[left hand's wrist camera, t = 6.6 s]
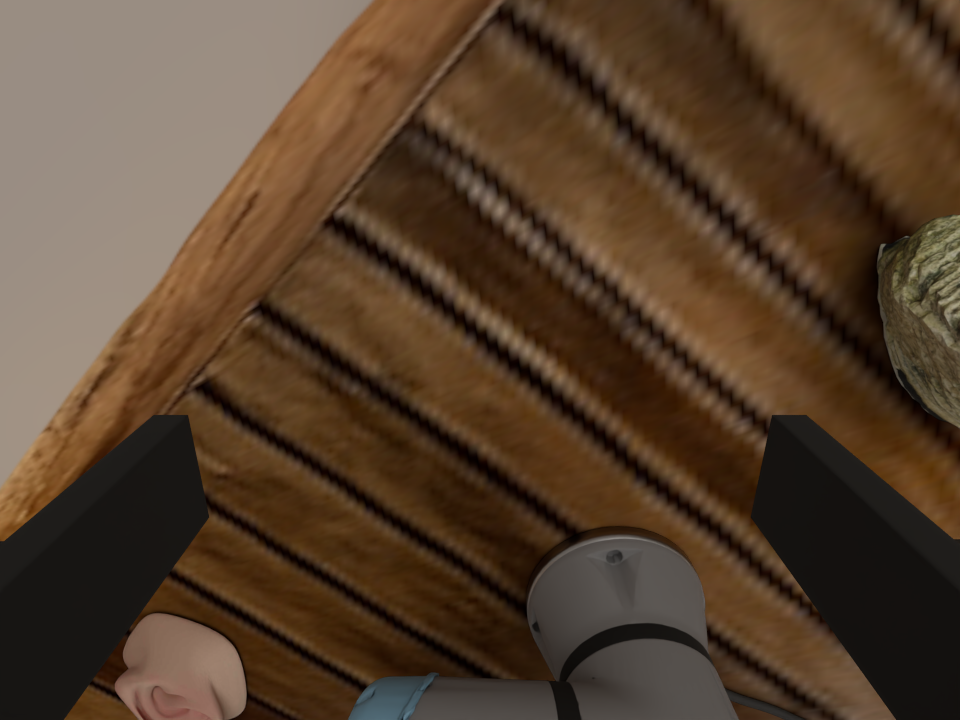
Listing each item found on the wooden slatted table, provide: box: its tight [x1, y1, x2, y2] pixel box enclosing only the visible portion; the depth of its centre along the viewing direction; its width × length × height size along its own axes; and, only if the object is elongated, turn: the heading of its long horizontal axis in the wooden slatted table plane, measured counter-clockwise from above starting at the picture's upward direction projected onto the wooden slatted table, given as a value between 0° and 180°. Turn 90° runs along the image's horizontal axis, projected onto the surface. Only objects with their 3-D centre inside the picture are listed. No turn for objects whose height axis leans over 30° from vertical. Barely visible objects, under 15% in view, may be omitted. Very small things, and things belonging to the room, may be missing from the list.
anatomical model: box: [115, 613, 247, 720], centre depth 52 cm, size 13×4×12 cm
